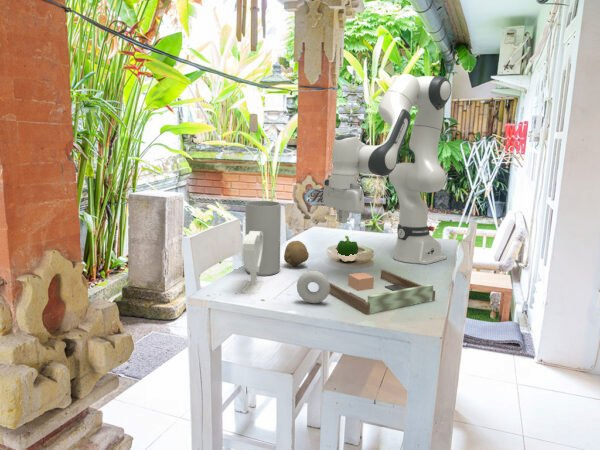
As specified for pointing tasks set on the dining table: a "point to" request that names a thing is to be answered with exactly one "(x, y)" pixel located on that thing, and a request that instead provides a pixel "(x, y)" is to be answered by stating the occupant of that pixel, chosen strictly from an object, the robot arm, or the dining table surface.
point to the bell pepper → (347, 247)
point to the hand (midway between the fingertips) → (342, 222)
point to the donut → (317, 278)
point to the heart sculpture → (253, 259)
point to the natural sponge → (295, 253)
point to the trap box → (387, 295)
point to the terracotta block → (360, 281)
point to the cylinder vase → (266, 232)
